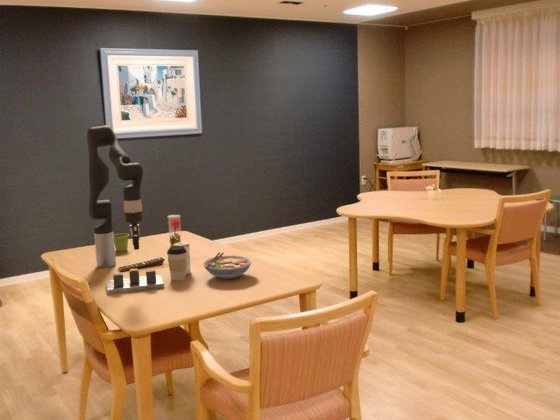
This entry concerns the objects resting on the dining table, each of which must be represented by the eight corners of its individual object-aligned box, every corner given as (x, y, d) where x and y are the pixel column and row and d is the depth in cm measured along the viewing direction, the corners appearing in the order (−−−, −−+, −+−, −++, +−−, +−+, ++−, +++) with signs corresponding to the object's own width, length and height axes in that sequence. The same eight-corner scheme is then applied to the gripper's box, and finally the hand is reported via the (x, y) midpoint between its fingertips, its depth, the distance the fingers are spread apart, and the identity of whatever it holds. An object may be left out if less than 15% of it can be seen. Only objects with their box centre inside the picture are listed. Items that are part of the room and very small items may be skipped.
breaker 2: (146, 281, 263) (145, 270, 262) (155, 280, 264) (154, 269, 263) (147, 282, 261) (146, 272, 260) (156, 281, 262) (155, 271, 261)
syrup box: (174, 274, 280) (172, 244, 278) (181, 270, 286) (179, 241, 283) (183, 275, 278) (182, 245, 275) (191, 272, 283) (189, 242, 280)
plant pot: (112, 249, 331) (111, 234, 329) (129, 247, 333) (128, 232, 332) (113, 253, 322) (111, 237, 320) (131, 251, 325) (129, 236, 323)
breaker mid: (129, 281, 264) (128, 269, 263) (139, 280, 265) (138, 268, 264) (130, 282, 261) (129, 270, 260) (139, 281, 263) (138, 269, 262)
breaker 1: (113, 285, 259) (113, 274, 258) (123, 284, 260) (122, 273, 259) (114, 286, 256) (113, 275, 256) (123, 285, 258) (122, 274, 257)
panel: (106, 285, 267) (106, 280, 266) (160, 278, 274) (160, 274, 273) (107, 294, 253) (107, 290, 253) (164, 287, 261) (163, 283, 260)
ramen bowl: (245, 286, 260) (244, 268, 258) (195, 284, 264) (194, 266, 263) (258, 270, 284) (257, 253, 282) (212, 268, 288) (212, 252, 287)
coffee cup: (169, 282, 269) (167, 250, 266) (167, 276, 277) (165, 245, 274) (189, 279, 271) (187, 248, 268) (187, 274, 280) (185, 243, 277)
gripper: (123, 208, 258) (126, 244, 260) (124, 213, 244) (127, 251, 247) (141, 207, 260) (143, 243, 262) (143, 212, 246) (146, 250, 249)
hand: (136, 247), depth 255 cm, fingers open, 8 cm apart
